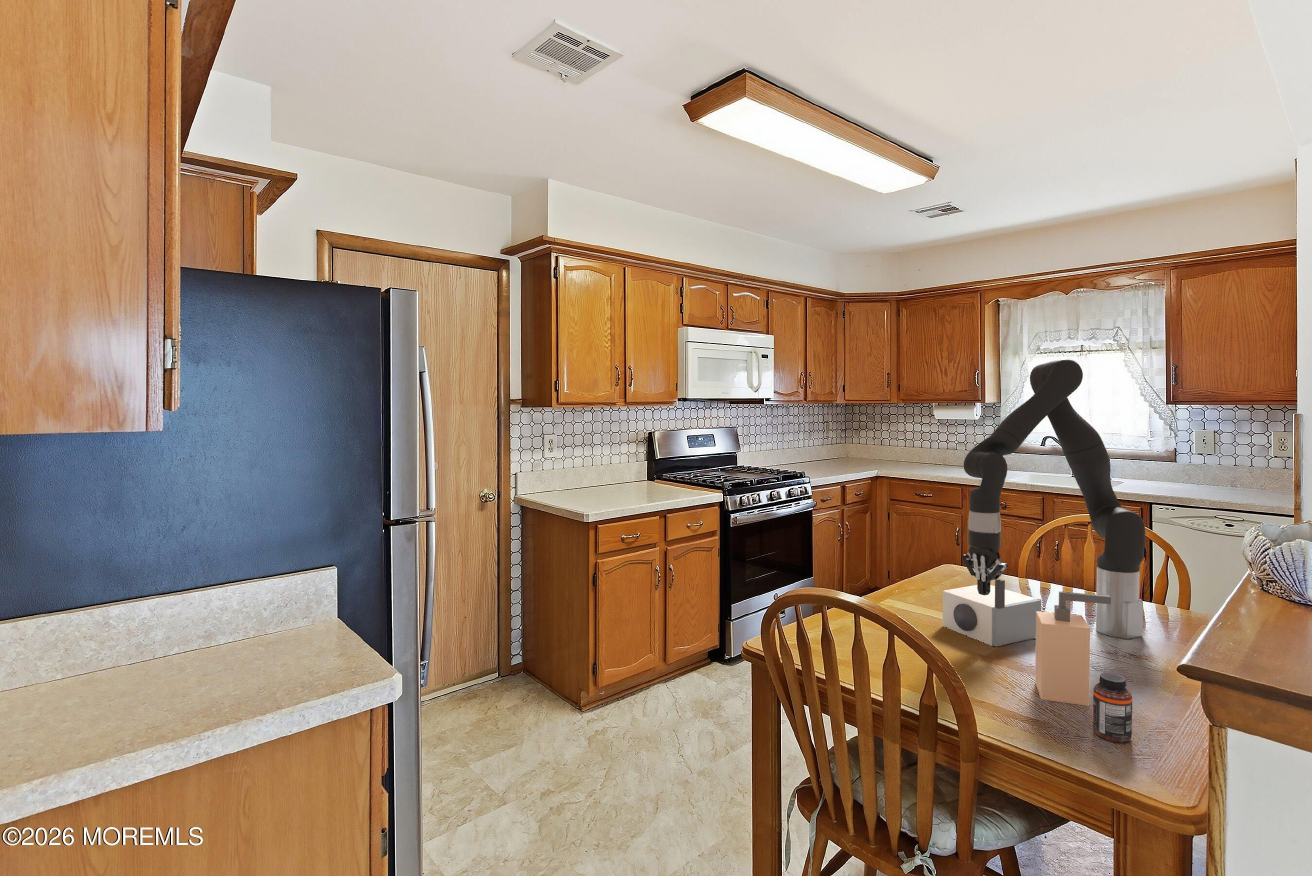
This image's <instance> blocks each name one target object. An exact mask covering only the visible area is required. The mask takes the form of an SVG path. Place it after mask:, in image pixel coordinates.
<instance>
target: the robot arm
mask: <svg viewBox="0 0 1312 876" xmlns="http://www.w3.org/2000/svg"><path fill="white" fill-rule="evenodd" d="M1083 377H1084V372H1083V369H1082V367H1081V366H1080V364H1079V363H1078V362H1077V361H1075V360H1074V359H1069V358H1063V359H1061V358H1060V359H1057V360H1051V361H1048V362H1044V363H1041V364H1037V365H1036V366H1034V367H1033V368H1032V370H1031V371H1030V373H1029V383H1030V386H1031V387H1030V388H1031V389H1032V391H1033V393H1034V394H1033V395H1032V396H1031V397H1030V398H1029V399H1027V400H1026V401H1025V402H1023V403H1022V404H1021V405H1020V406H1018V407H1016V408H1015V409H1014V410H1013V411H1012V412H1010V413H1009V414H1008V415H1007V416H1006V417H1004V419H1003V420H1002V421H1001V422H1000V423H999V424H998V426H997V427H996V429H995V430H994V431H993V432H992V433H991V435H989V436H988V437H986V438H985V439H983V440H982V441H980V442H979V443H978V444H977V445H975V446H974V447H973V448H972V449H971V450H970V451H968V453H967V454H966V455H965V458H964V461H963V464H962V465H963V470H964V472H965V473H966V474H967V476H970V477H971V478H976V479H981V482H980V484H979V487H974V488H972V489H971V490H970V492H969V509H968V510H969V511H968V512H969V513H968V519H967V520H968V521H967V522H968V523H967V524H968V527H967V530H968V531H967V535H968V536H967V537H968V538H967V545H968V546H969V549H968V552H967V553H966V554H961V559H962V561H963V563H964V565H965V566H966V568H967V570H968V572H969V574H970V576H973V577H974V578H975V579H976V580H977V581H976V582H977V583H976V585H977V590H978V593H979V594H981V595H989V593H990V585H991V583H992V581H995V580H999V578H1000V577H1001V576H1002V575H1003V574H1004V573H1005V571H1006V570H1007V569H1008V568H1009V564H1008V563H1007V562H1006V563H1005V562H1003V560H1002V559H1001V555H1000V551H999V550H1000V548H1001V543H1002V541H1001V540H1002V532H1001V531H1002V521H1001V520H1002V519H1001V495H1002V492H1003V488H1004V485H1005V481H1006V478H1007V475H1008V474H1007V473H1008V463H1007V459H1005V457H1004V456H1008V455H1013V454H1014V453H1015V452H1016V451H1017V450H1018V449H1019V447H1021V445H1022V444H1023V443H1024V441H1026V440H1027V438H1028V437H1029V436H1030V435H1031V434H1032V432H1033V431H1034V430H1035V428H1036V427H1037V426H1038V425H1039V424H1040V423H1042V421H1043V420H1044V419H1045V418H1046V417H1047V418H1048V420H1049V423H1050V424H1051V427H1052V429H1053V431H1054V434H1055V435H1056V437H1057V439H1058V442H1059V445H1060V447H1061V449H1062V450H1061V451H1062V452H1063V455H1064V458H1065V459H1066V462H1067V464H1068V466H1069V468H1070V470H1071V472H1072V474H1073V477H1074V479H1075V482H1076V483H1077V485H1078V488H1079V490H1080V492H1081V494H1082V496H1083V498H1084V502H1085V505H1086V509H1087V512H1088V516H1089V519H1090V523H1091V525H1092V526H1091V527H1092V528H1093V530H1094V531H1095V532H1096V534H1097V535H1098V536H1100V538H1103V539H1104V548H1103V553H1102V554H1099V555H1098V556H1097V558H1096V594H1095V595H1107V596H1110V597H1111V604H1101V603H1095V605H1096V606H1095V630H1096V631H1098V632H1099V633H1101V634H1103V635H1107V636H1110V637H1115V638H1120V639H1125V640H1131V639H1135V638H1139V637H1142V636H1143V627H1144V626H1143V621H1144V620H1143V618H1144V612H1143V611H1144V602H1143V599H1141V598H1140V577H1141V576H1140V573H1141V572H1140V569H1141V564H1142V562H1143V560H1144V556H1145V546H1146V545H1145V544H1146V543H1145V542H1146V525H1145V522H1144V520H1143V518H1142V516H1140V515H1139V514H1138V513H1137V512H1134V511H1131V510H1128V509H1127V508H1123V506H1122V505H1121V502H1119V501H1120V500H1119V499H1118V498H1117V495H1116V493H1115V491H1114V489H1113V485H1112V482H1111V481H1112V480H1111V460H1110V459H1111V458H1110V455H1109V453H1108V450H1107V448H1106V446H1105V444H1104V441H1103V439H1102V437H1101V435H1100V434H1099V432H1098V431H1097V430H1096V429H1095V428H1094V427H1093V426H1092V425H1091V424H1090V423H1089V422H1088V421H1087V420H1086V419H1084V418H1083V417H1082V415H1080V414H1079V413H1078V412H1077V410H1075V408H1074V407H1073V406H1072V404H1071V402H1070V400H1069V396H1071V395H1072V393H1074V392H1075V391H1076V390H1077V389H1078V388H1079V387H1080V385H1081V384H1082V382H1083Z"/></svg>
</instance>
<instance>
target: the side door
mask: <svg viewBox="0 0 1312 876" xmlns="http://www.w3.org/2000/svg"><path fill="white" fill-rule="evenodd" d="M994 586H995V607H992V645H993V646H994V647H1000V646H1005V645H1008V644H1014V643H1018V642H1019V643H1020V642H1022V641H1026V640H1027V641H1028V640H1031V639H1036V611H1040V612H1042V599H1041V598H1036V599H1034V600H1029V601H1023V602H1018V603H1013V604H1007V605H1005V589H1006V580H1005V579H999V578H998V579H997V580H994Z"/></svg>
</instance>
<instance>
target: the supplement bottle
mask: <svg viewBox="0 0 1312 876" xmlns="http://www.w3.org/2000/svg"><path fill="white" fill-rule="evenodd" d="M1092 693H1093V695H1092V697H1093V699H1092V700H1093V701H1092V702H1093V703H1092V707H1093V708H1092V729H1093V732H1094V734H1095V735H1097V736H1099V737H1100V738H1101V739H1103V740H1105V741H1109V742H1113V743H1119V744H1121V743H1127V742H1130V741H1131V740H1132V734H1133V694H1132V692H1131V690H1129V689H1128V688H1127V680H1126V678H1125V676H1123V675H1120V674H1117V673H1112V672H1101V673H1100V674H1099V682H1098V683H1096V684H1095V685H1094V686H1093V689H1092Z"/></svg>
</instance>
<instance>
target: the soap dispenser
mask: <svg viewBox="0 0 1312 876" xmlns="http://www.w3.org/2000/svg"><path fill="white" fill-rule="evenodd" d="M1066 601H1069V602H1080V603H1092V604H1096V603H1101V604H1111V597H1110V596H1107V595H1096V594H1095V593H1082V592H1081V593H1080V592H1072V591H1071V592H1068V591H1058V605H1057V604H1055V605H1054V607H1053V608H1054V609H1053V611H1054V612H1051V611H1049V612H1048V611H1041V612H1040V611H1036V638H1035V671H1034V672H1035V673H1034V674H1035V675H1034V676H1035V681H1034V682H1035V686H1036V690H1037V693H1038V694H1039V698H1040V700H1041V701H1042V700H1043V701H1048V702H1049V701H1050V702H1056V703H1057V702H1058V703H1063V704H1064V703H1065V704H1071V705H1078V706H1079V705H1080V706H1084V707H1085V706H1086V707H1089V706H1090V669H1091V666H1090V665H1091V663H1090V660H1091V628H1090V626H1089V624H1088V623H1087V621H1086V620H1085V619H1084V617H1083V614H1071V609H1070V608H1069V606H1067V603H1066Z"/></svg>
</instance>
